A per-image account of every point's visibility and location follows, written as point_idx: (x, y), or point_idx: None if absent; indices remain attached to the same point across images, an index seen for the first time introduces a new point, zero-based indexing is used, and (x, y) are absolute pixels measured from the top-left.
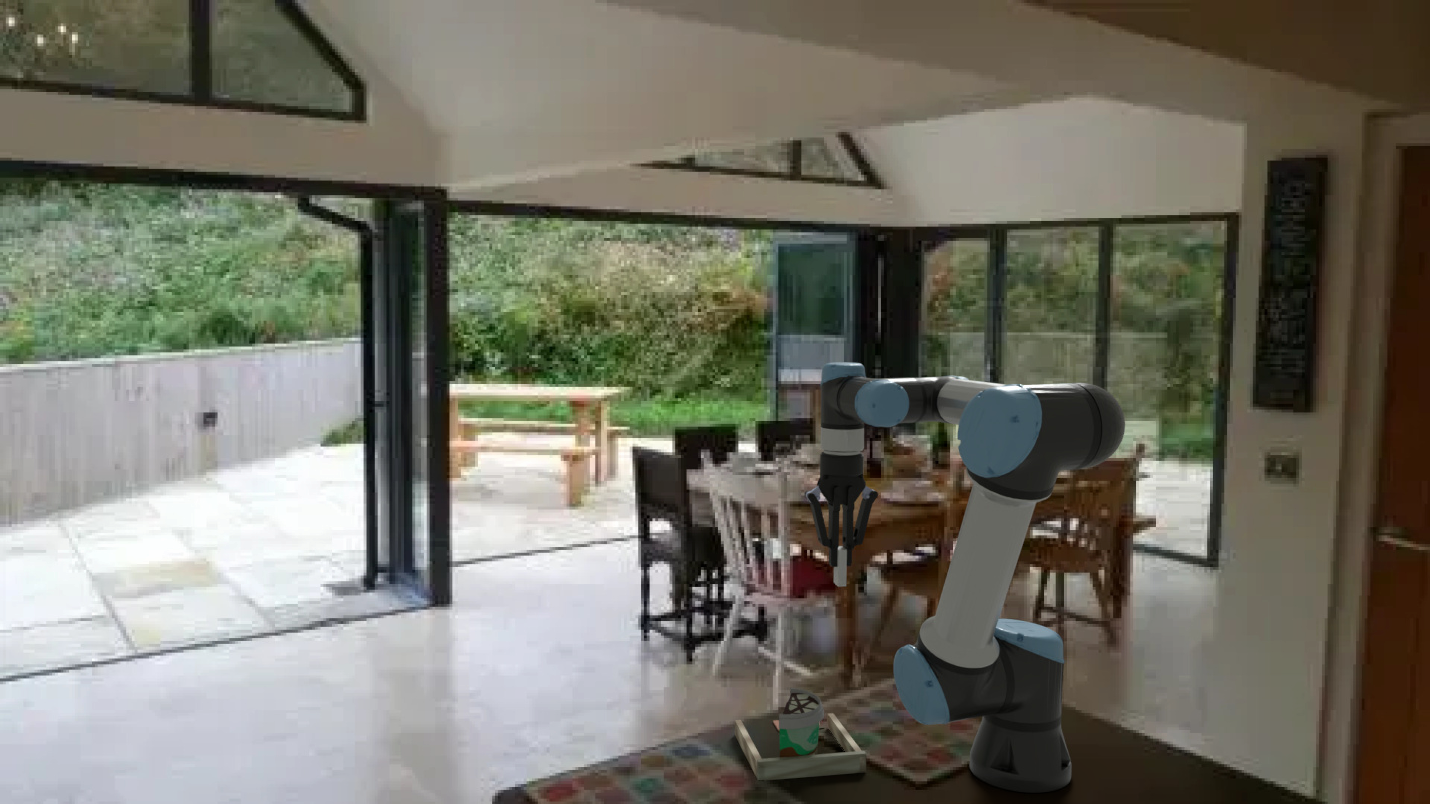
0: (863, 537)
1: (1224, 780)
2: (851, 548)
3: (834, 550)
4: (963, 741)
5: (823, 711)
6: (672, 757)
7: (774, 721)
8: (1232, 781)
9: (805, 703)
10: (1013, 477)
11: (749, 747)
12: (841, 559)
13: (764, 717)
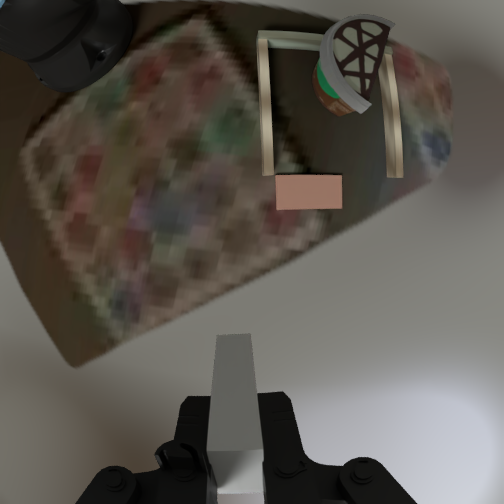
0: (84, 495)
1: None
2: (176, 447)
3: (283, 454)
4: (101, 117)
5: (324, 39)
6: (452, 137)
7: (340, 205)
8: None
9: (351, 60)
10: None
11: (396, 92)
12: (240, 409)
13: (347, 228)
